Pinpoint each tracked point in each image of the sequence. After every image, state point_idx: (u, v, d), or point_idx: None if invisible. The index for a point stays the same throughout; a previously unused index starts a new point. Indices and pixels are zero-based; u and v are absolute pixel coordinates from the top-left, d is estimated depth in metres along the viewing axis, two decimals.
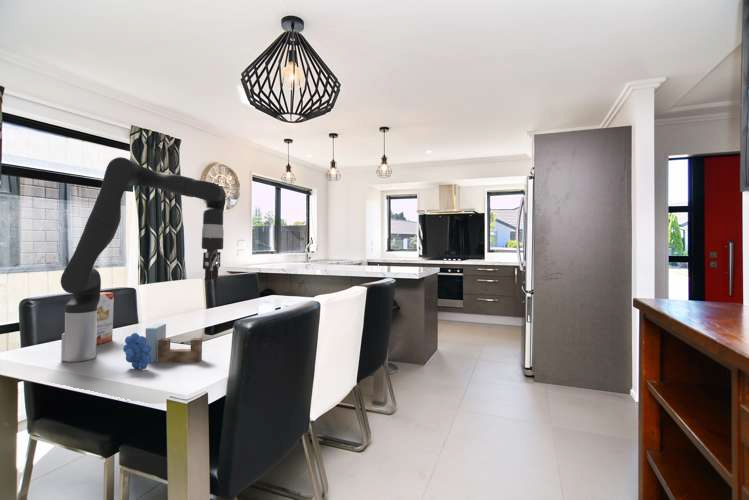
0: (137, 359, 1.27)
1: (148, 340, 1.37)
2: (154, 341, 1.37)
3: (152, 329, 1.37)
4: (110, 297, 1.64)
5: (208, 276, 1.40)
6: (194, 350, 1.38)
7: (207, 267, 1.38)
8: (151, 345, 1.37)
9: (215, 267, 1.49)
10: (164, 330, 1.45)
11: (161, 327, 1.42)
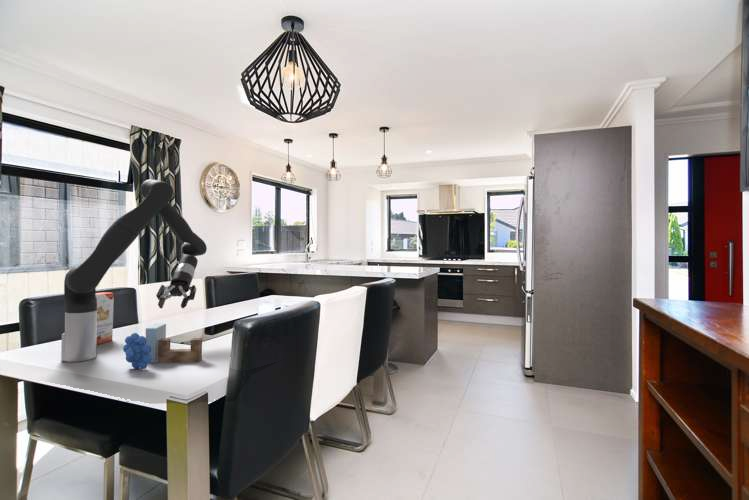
0: (137, 359, 1.27)
1: (148, 340, 1.37)
2: (154, 341, 1.37)
3: (152, 329, 1.37)
4: (110, 297, 1.64)
5: (186, 304, 1.56)
6: (194, 350, 1.38)
7: (193, 297, 1.58)
8: (151, 345, 1.37)
9: (164, 298, 1.57)
10: (164, 330, 1.45)
11: (161, 327, 1.42)
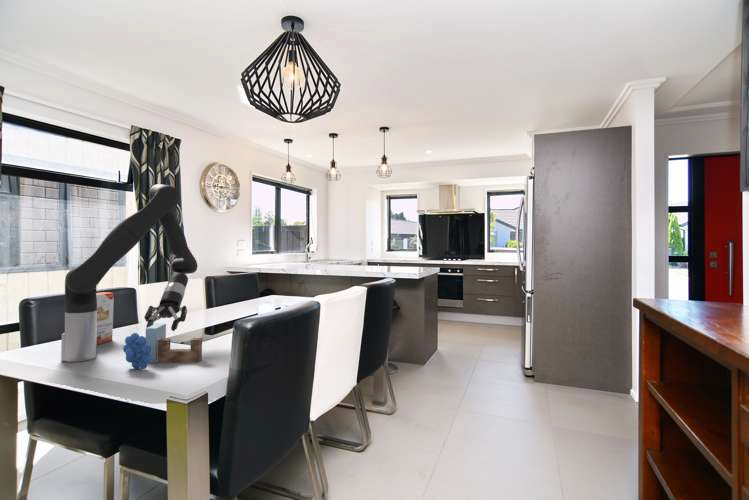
0: (137, 359, 1.27)
1: (148, 340, 1.37)
2: (154, 341, 1.37)
3: (152, 329, 1.37)
4: (110, 297, 1.64)
5: (176, 326, 1.47)
6: (194, 350, 1.38)
7: (183, 319, 1.50)
8: (151, 345, 1.37)
9: (153, 320, 1.48)
10: (164, 330, 1.45)
11: (161, 327, 1.42)
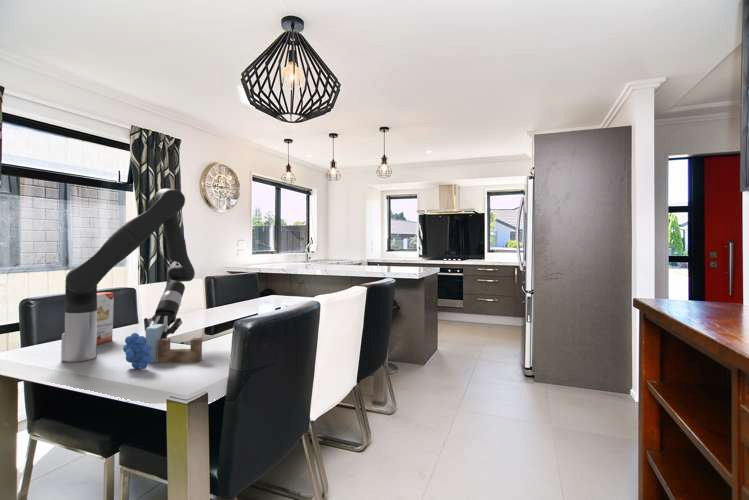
0: (137, 359, 1.27)
1: (148, 340, 1.37)
2: (154, 341, 1.37)
3: (152, 329, 1.37)
4: (110, 297, 1.64)
5: None
6: (194, 350, 1.38)
7: (173, 331, 1.45)
8: (151, 345, 1.37)
9: None
10: None
11: (161, 327, 1.42)
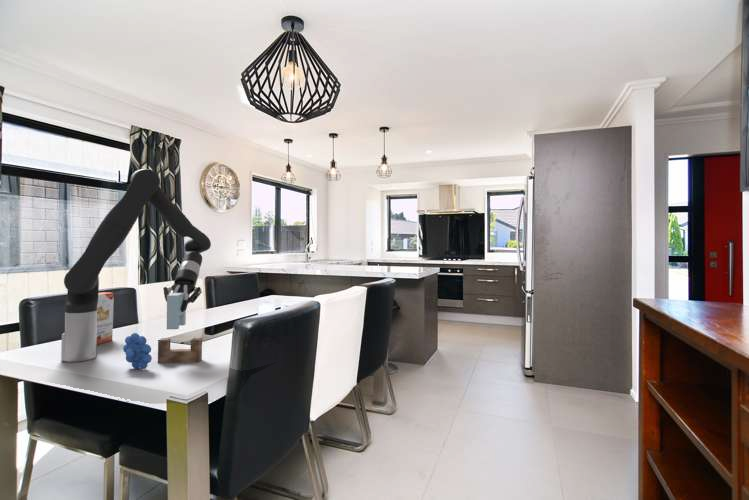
0: (137, 359, 1.27)
1: (169, 307, 1.35)
2: (175, 308, 1.36)
3: (173, 296, 1.36)
4: (110, 297, 1.64)
5: (186, 307, 1.41)
6: (194, 350, 1.38)
7: (193, 300, 1.44)
8: (172, 312, 1.36)
9: None
10: None
11: (182, 295, 1.40)
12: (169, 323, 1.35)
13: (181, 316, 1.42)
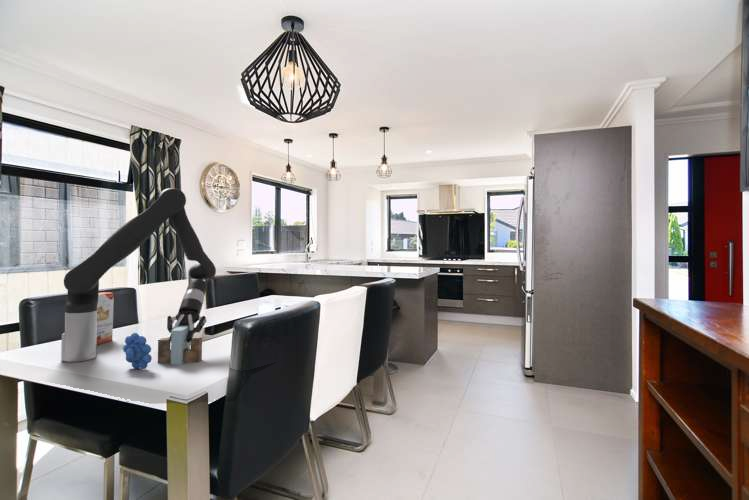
0: (137, 359, 1.27)
1: (174, 342, 1.35)
2: (180, 343, 1.35)
3: (178, 331, 1.35)
4: (110, 297, 1.64)
5: (192, 337, 1.40)
6: (194, 350, 1.38)
7: (199, 330, 1.43)
8: (177, 347, 1.35)
9: None
10: None
11: (186, 329, 1.39)
12: (173, 358, 1.35)
13: None
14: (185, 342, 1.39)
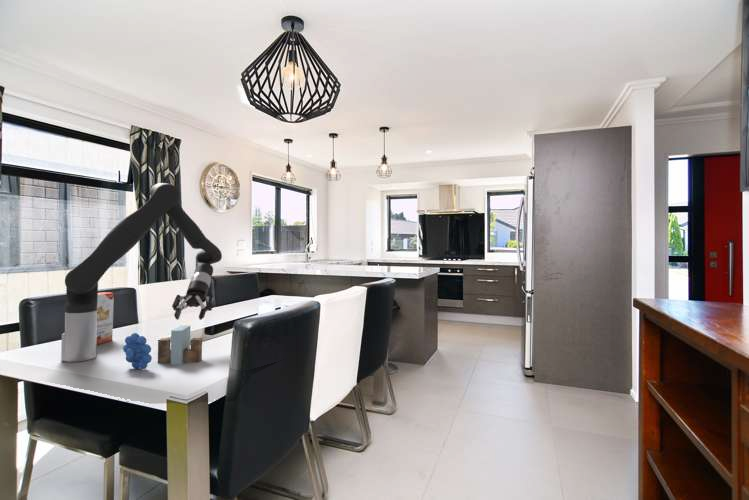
0: (137, 359, 1.27)
1: (174, 342, 1.35)
2: (180, 343, 1.35)
3: (178, 331, 1.35)
4: (110, 297, 1.64)
5: (204, 315, 1.48)
6: (194, 350, 1.38)
7: (210, 308, 1.51)
8: (177, 347, 1.35)
9: (180, 309, 1.49)
10: (189, 332, 1.42)
11: (186, 329, 1.39)
12: (173, 358, 1.35)
13: None
14: (185, 342, 1.38)
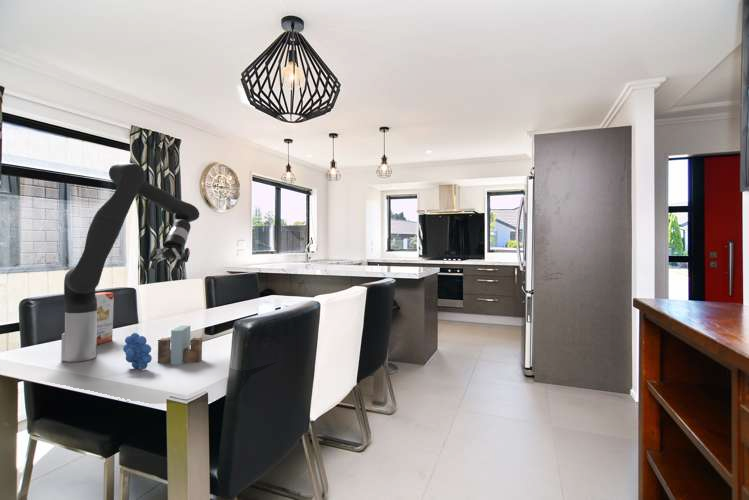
0: (137, 359, 1.27)
1: (174, 342, 1.35)
2: (180, 343, 1.35)
3: (178, 331, 1.35)
4: (110, 297, 1.64)
5: (179, 265, 1.55)
6: (194, 350, 1.38)
7: (186, 259, 1.57)
8: (177, 347, 1.35)
9: (157, 260, 1.55)
10: (189, 332, 1.42)
11: (186, 329, 1.39)
12: (173, 358, 1.35)
13: None
14: (185, 342, 1.38)
